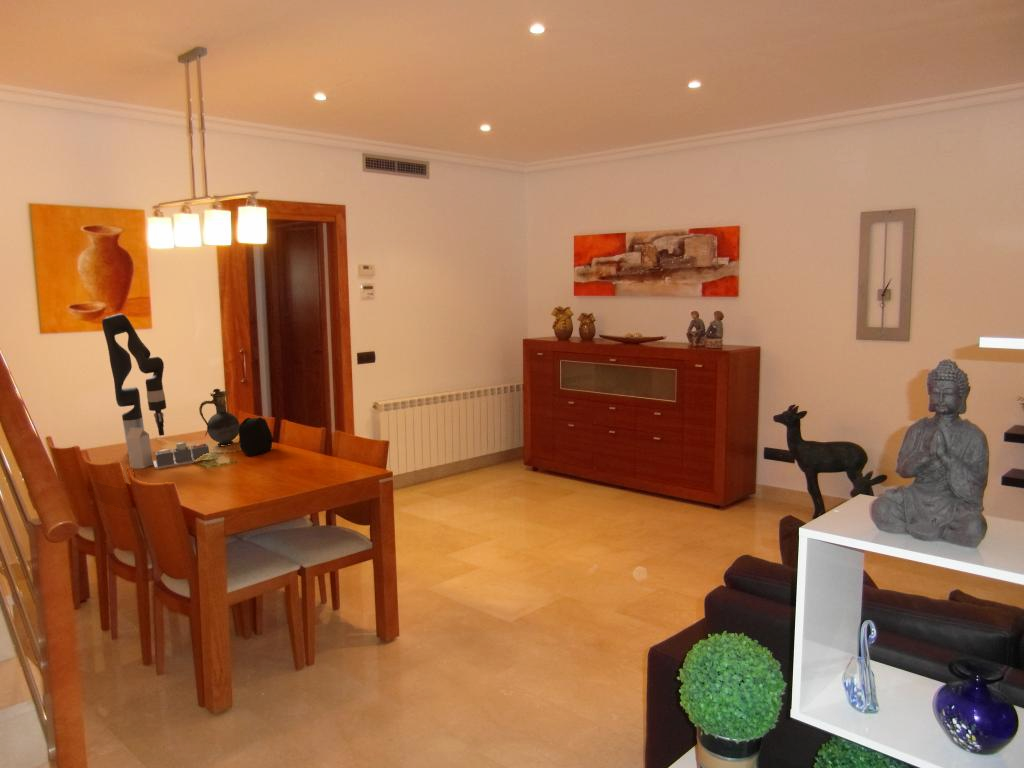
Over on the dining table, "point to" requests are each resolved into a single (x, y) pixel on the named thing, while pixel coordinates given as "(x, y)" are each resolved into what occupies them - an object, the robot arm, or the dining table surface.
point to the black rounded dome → (255, 436)
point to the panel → (179, 457)
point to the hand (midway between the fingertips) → (161, 435)
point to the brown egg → (199, 445)
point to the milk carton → (139, 448)
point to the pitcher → (221, 420)
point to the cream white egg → (163, 451)
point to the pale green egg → (181, 446)
